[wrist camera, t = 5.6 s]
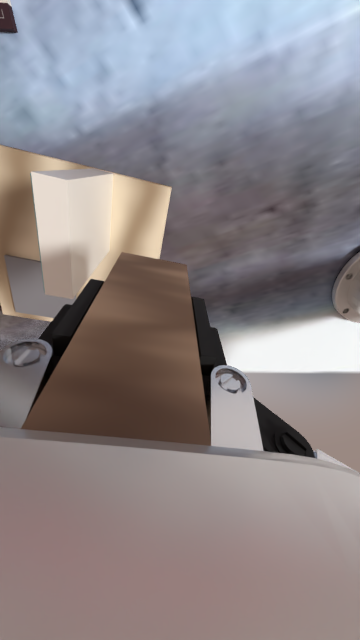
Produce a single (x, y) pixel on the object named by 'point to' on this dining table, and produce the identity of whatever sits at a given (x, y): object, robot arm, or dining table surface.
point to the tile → (71, 225)
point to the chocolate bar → (7, 17)
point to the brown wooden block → (131, 362)
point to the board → (126, 217)
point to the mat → (31, 288)
